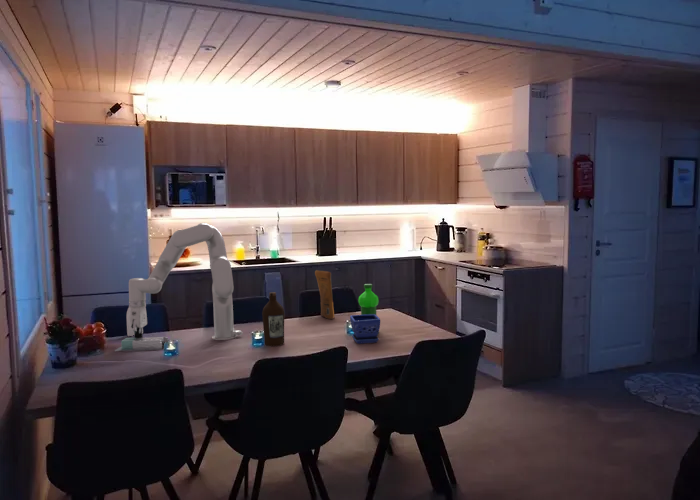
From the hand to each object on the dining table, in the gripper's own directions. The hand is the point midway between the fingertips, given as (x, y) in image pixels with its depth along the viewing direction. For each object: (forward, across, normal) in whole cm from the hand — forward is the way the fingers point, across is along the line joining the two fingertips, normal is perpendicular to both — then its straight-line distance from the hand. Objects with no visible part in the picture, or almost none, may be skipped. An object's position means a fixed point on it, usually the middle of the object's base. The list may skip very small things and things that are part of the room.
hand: (138, 341), depth 267 cm
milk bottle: (+3, +26, +11) cm, 28 cm away
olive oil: (+2, -2, -66) cm, 66 cm away
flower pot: (0, -2, -110) cm, 110 cm away
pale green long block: (+2, -7, -6) cm, 9 cm away
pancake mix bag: (0, +62, -89) cm, 109 cm away
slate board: (+3, 0, -5) cm, 6 cm away
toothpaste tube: (+2, -4, -5) cm, 6 cm away
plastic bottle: (0, +17, -113) cm, 114 cm away
